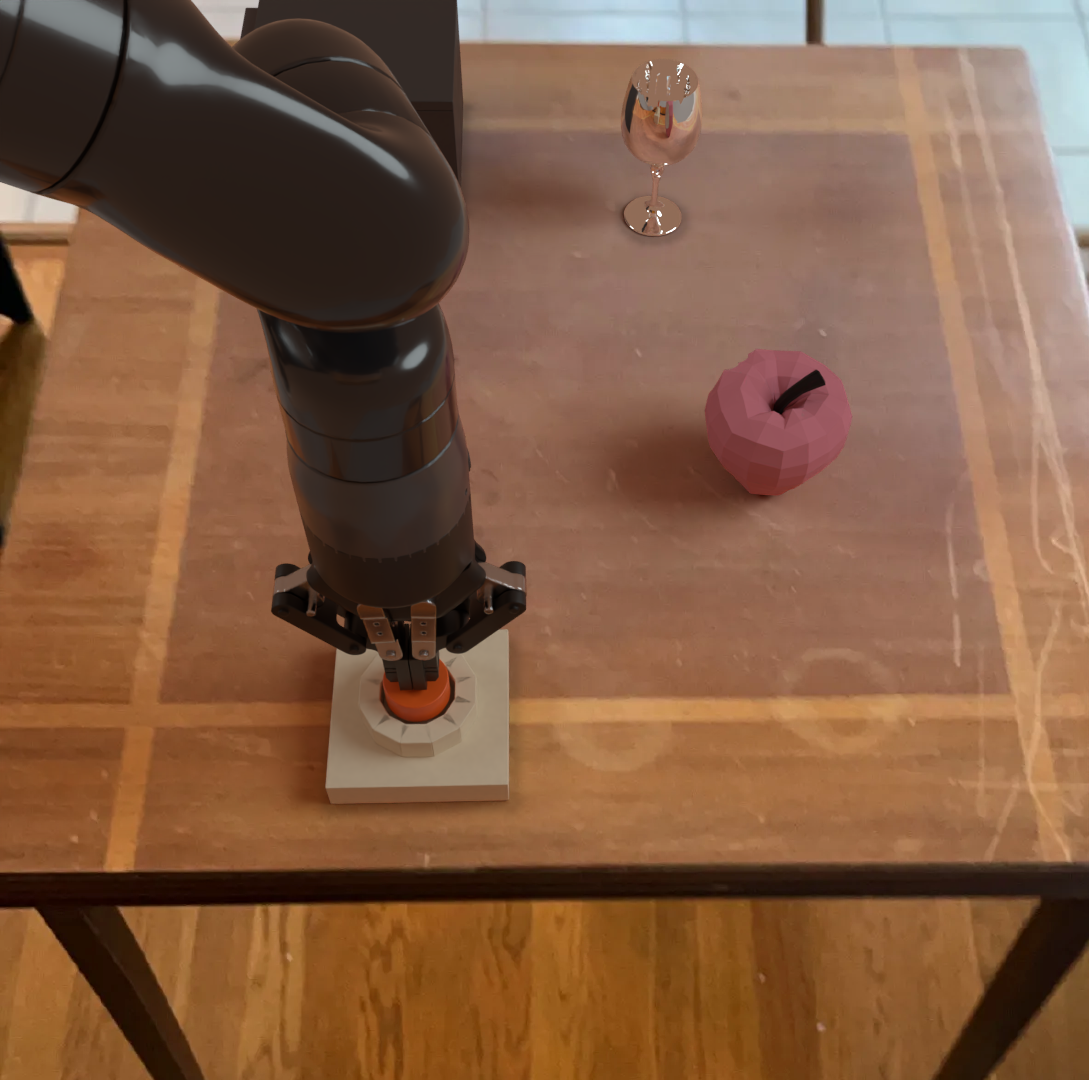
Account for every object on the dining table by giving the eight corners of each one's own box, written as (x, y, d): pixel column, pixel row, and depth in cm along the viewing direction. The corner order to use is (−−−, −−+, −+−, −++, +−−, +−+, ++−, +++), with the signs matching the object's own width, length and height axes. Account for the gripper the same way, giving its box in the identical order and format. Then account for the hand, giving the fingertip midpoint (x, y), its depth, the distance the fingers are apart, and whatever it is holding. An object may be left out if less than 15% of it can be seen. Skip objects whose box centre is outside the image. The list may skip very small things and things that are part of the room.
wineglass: (607, 233, 98) (614, 97, 88) (624, 184, 101) (633, 47, 91) (681, 248, 98) (697, 113, 88) (697, 198, 101) (714, 62, 91)
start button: (384, 723, 72) (380, 708, 70) (387, 666, 74) (384, 650, 72) (449, 721, 72) (447, 707, 70) (451, 665, 74) (449, 649, 72)
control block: (330, 804, 73) (320, 774, 70) (342, 649, 78) (333, 615, 75) (509, 800, 73) (507, 770, 70) (509, 647, 79) (507, 612, 75)
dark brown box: (266, 208, 98) (241, 99, 90) (282, 101, 105) (260, -9, 97) (460, 209, 99) (453, 101, 91) (463, 103, 106) (456, -7, 98)
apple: (767, 401, 90) (790, 296, 82) (860, 476, 87) (894, 375, 78) (668, 473, 86) (681, 370, 78) (761, 554, 83) (786, 456, 75)
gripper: (218, 556, 54) (286, 740, 69) (536, 552, 55) (536, 735, 70) (237, 417, 58) (298, 618, 73) (533, 416, 59) (534, 615, 74)
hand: (415, 675), depth 71 cm, fingers closed
